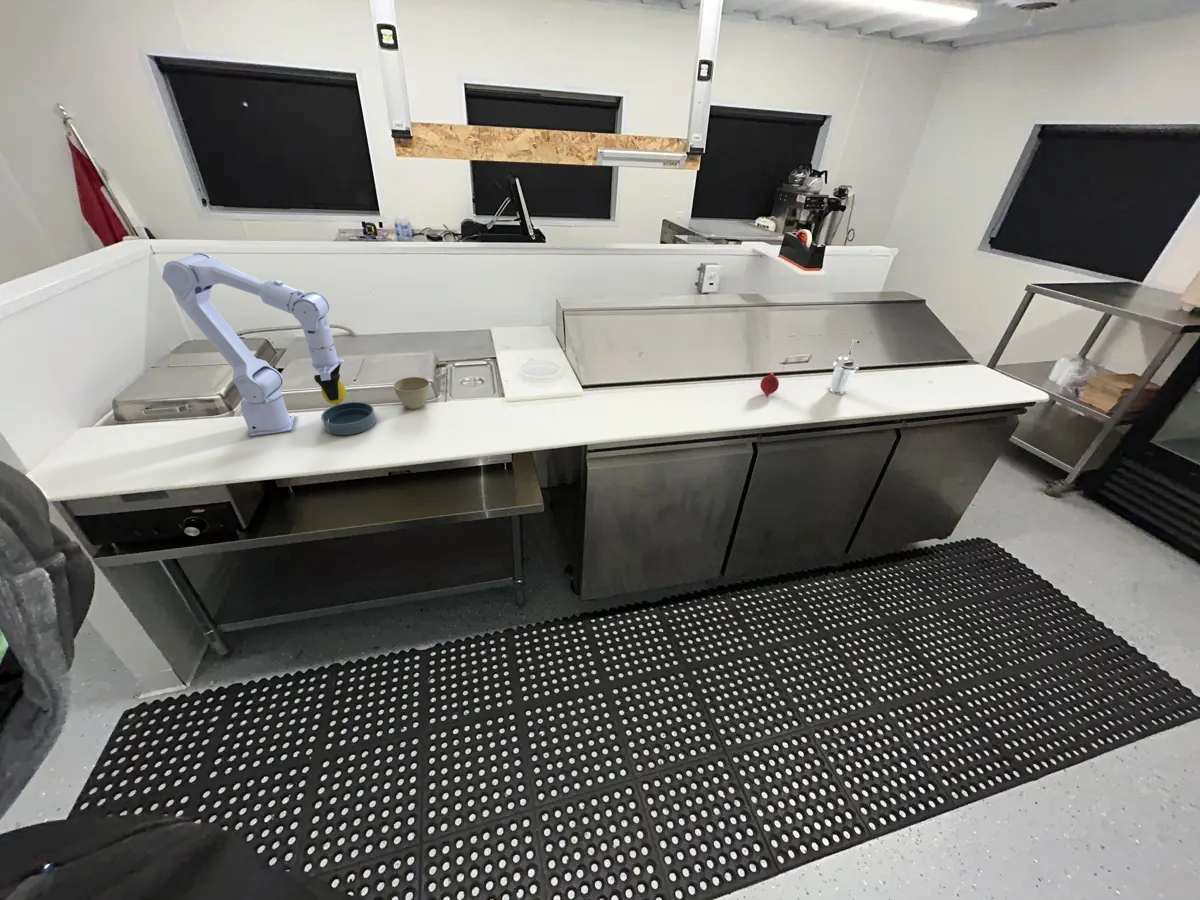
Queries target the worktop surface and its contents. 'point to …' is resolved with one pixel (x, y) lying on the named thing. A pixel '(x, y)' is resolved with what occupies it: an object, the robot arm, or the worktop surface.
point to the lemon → (341, 394)
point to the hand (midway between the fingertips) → (334, 394)
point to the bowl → (348, 418)
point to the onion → (769, 384)
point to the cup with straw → (843, 370)
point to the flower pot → (412, 391)
